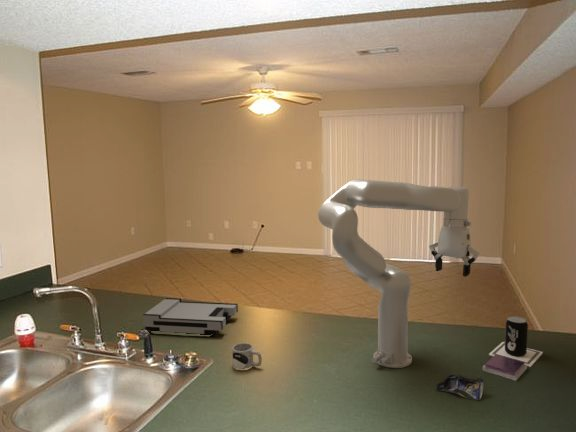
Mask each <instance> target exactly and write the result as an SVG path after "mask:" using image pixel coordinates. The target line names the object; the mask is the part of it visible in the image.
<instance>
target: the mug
mask: <svg viewBox="0 0 576 432" xmlns="http://www.w3.org/2000/svg"><path fill="white" fill-rule="evenodd" d="M231 349H232V367H233V366H234V367H235V368H238V369H245V368H249V367H251V366H252V367H253V368H254V367H261V366H262V361H263V360H262V353H261V352H259V351H257V350H255V349H254V347H253V345H252V344H251V343H248V342H240V343H236V344H234V345H233V346H232V348H231ZM254 355H255V356H257V357H258V361H257V362H256V361H254Z"/></svg>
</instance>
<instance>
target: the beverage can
mask: <svg viewBox="0 0 576 432" xmlns="http://www.w3.org/2000/svg"><path fill="white" fill-rule="evenodd" d="M528 324H529V323H528V322H527V319H526V318H525V317H522V316H517V315H511V316H507V319H506V321H505V334H504V335H505V336H504V338H505V339H504V342H505V351H506V352H507V353H508V354H509V355H512V356H517V357H520V356H524V355H525V354H526V351H527V348H528V329H529V328H528V327H529V325H528Z"/></svg>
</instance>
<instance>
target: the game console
mask: <svg viewBox="0 0 576 432" xmlns="http://www.w3.org/2000/svg"><path fill="white" fill-rule="evenodd" d="M238 305H239V304H238V303H228V302H225V303H224V302H209V301H208V302H207V301H206V302H205V301H203V302H202V301H183V300H182V298H175V297H166V298H164V299H163V300H161V301H160V302H158V303H157V304H156V305H155V306H153V307H151V309H149V310H148V311H146V312H145V313H143V314H142V316H141V317H142V324H143V325H142V327H144V329H145V331H149V333H150V332H151V331H160V332H174V333H186V334H200V335H211V334H213V335H218V334H217V333H218V332H219V331H223V330H224V328H225V327H226V326H227V322H228V321H229V320H230V318H232V317H235V315H236V314H237V313H238V311H239V309H238V307H239V306H238Z"/></svg>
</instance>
